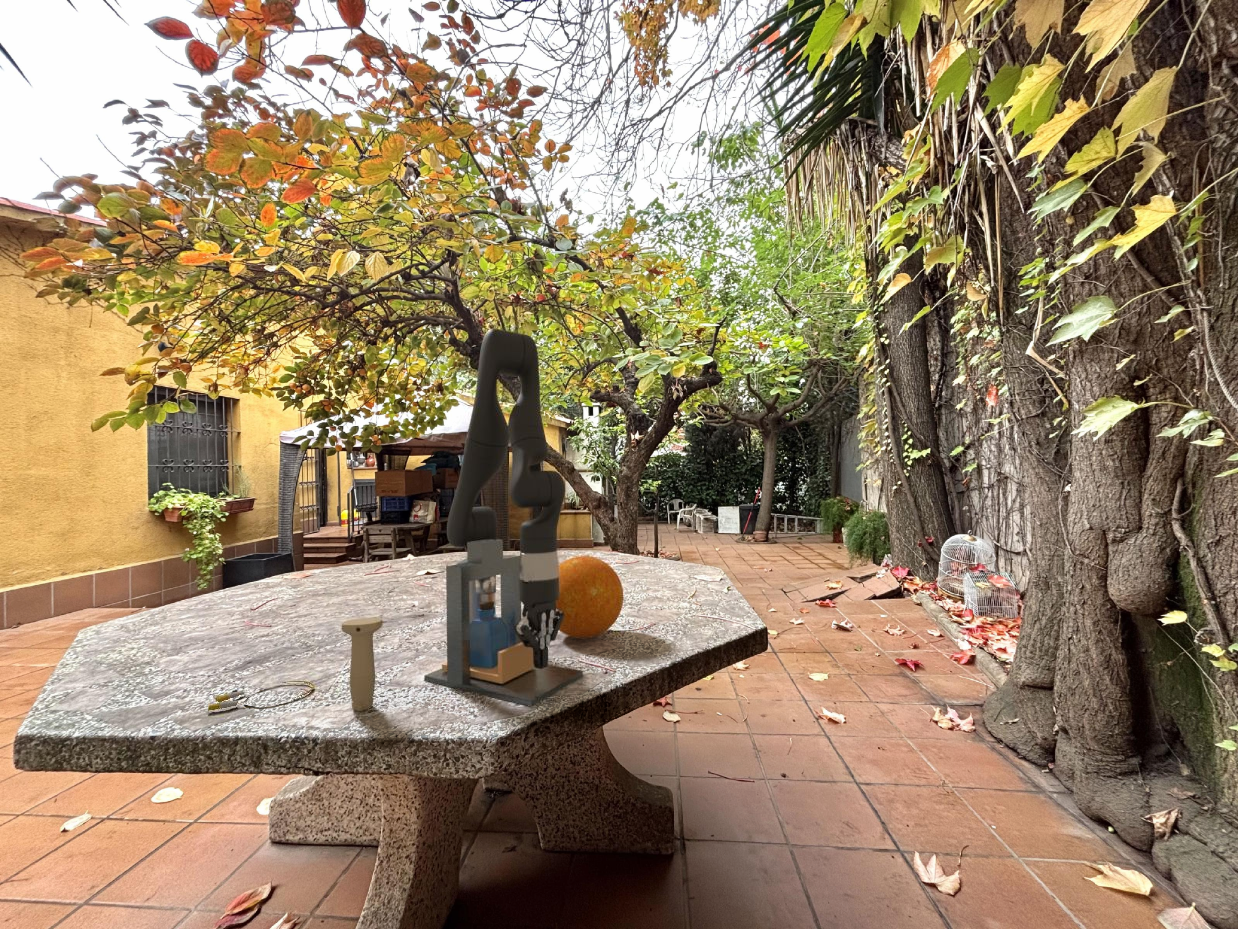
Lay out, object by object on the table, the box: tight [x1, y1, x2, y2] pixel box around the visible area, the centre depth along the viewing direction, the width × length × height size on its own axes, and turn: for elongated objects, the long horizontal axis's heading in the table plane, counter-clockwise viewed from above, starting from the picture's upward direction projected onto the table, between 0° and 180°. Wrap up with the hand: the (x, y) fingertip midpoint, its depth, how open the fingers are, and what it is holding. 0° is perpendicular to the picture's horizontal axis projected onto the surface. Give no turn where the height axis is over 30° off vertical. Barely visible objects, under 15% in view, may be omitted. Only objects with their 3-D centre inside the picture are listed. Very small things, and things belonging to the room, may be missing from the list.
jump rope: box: [207, 680, 315, 712], centre depth 98 cm, size 12×16×2 cm
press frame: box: [423, 538, 584, 707], centre depth 106 cm, size 27×17×27 cm, turn 60°
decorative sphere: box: [555, 555, 624, 639], centre depth 133 cm, size 20×20×20 cm
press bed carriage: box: [441, 642, 535, 684], centre depth 107 cm, size 16×10×6 cm, turn 60°
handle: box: [341, 617, 383, 712], centre depth 93 cm, size 5×6×15 cm
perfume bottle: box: [470, 601, 509, 669], centre depth 108 cm, size 6×6×12 cm
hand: (540, 667), depth 101 cm, fingers closed
